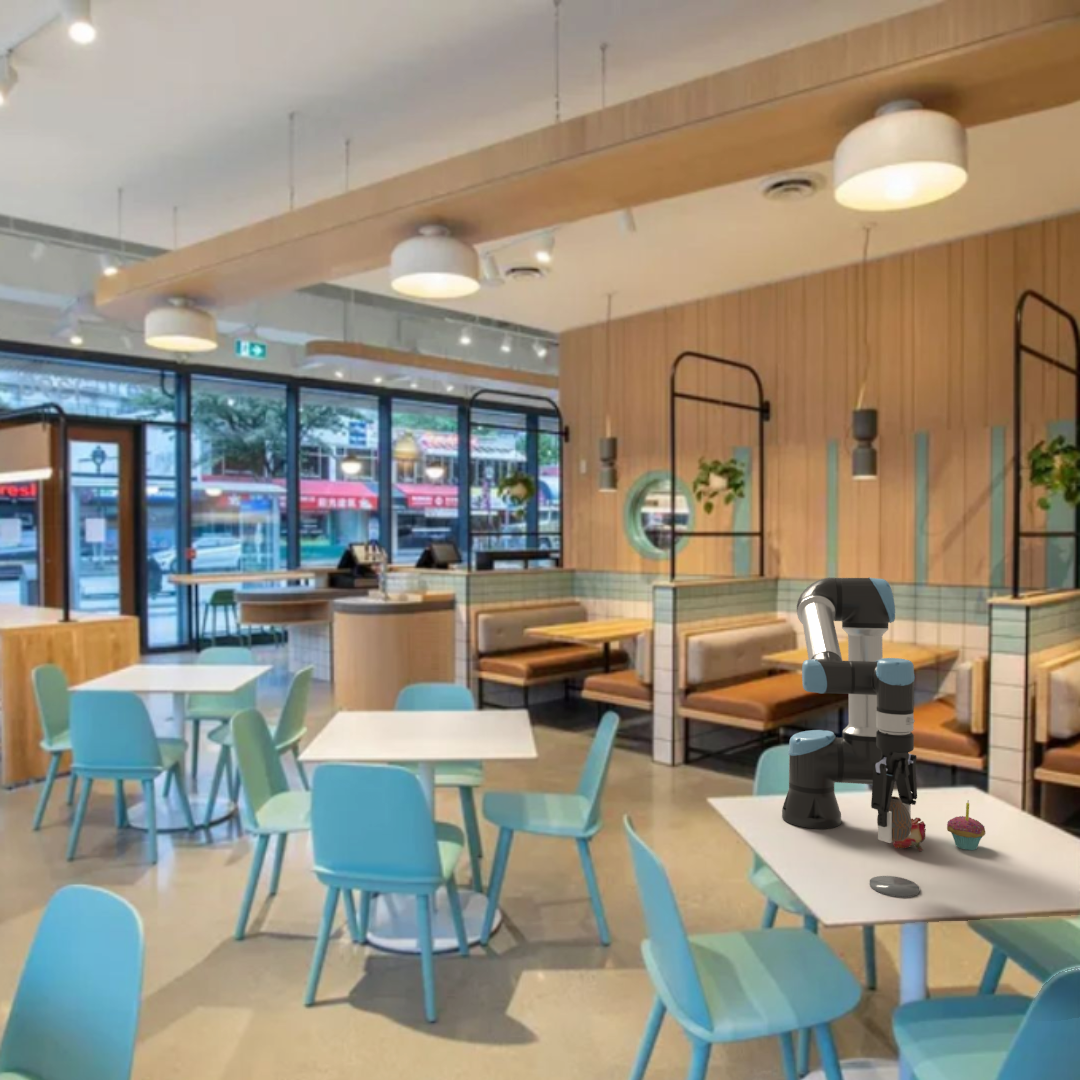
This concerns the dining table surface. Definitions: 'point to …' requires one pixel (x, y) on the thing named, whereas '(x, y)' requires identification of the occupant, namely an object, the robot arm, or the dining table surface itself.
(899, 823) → the vase
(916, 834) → the flower
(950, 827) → the cupcake
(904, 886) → the grey flat disc
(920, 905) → the dining table surface
